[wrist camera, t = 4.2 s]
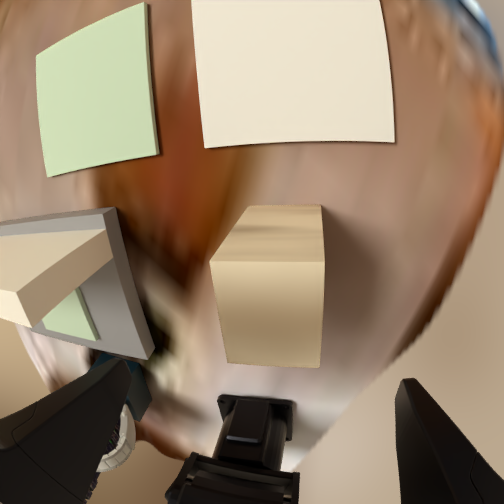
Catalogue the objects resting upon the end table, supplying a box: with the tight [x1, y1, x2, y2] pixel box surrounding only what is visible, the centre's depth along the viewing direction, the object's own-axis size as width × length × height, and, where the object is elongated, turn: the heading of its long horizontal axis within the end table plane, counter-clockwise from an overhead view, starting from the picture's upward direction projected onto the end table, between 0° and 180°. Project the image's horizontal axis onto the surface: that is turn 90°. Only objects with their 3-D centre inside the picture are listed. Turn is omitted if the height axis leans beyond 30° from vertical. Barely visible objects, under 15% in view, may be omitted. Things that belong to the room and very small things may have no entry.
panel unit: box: [0, 207, 155, 360], centre depth 18 cm, size 12×16×10 cm
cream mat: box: [191, 0, 394, 148], centre depth 13 cm, size 10×10×1 cm
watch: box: [87, 353, 152, 472], centre depth 22 cm, size 6×8×11 cm
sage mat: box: [36, 2, 160, 177], centre depth 15 cm, size 10×10×1 cm
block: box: [210, 205, 325, 368], centre depth 14 cm, size 5×4×7 cm
